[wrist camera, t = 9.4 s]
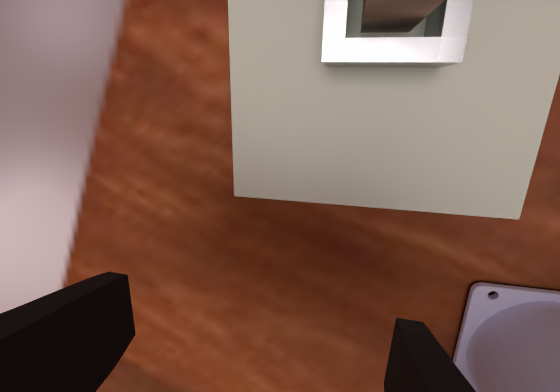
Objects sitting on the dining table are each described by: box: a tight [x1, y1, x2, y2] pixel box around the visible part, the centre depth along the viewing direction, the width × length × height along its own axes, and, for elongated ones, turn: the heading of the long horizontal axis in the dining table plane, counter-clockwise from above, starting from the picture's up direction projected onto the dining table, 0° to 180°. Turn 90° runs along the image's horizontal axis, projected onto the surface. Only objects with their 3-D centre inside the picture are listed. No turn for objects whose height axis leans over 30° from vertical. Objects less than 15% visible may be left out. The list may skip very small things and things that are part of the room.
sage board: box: [228, 0, 560, 219], centre depth 15 cm, size 14×14×1 cm
